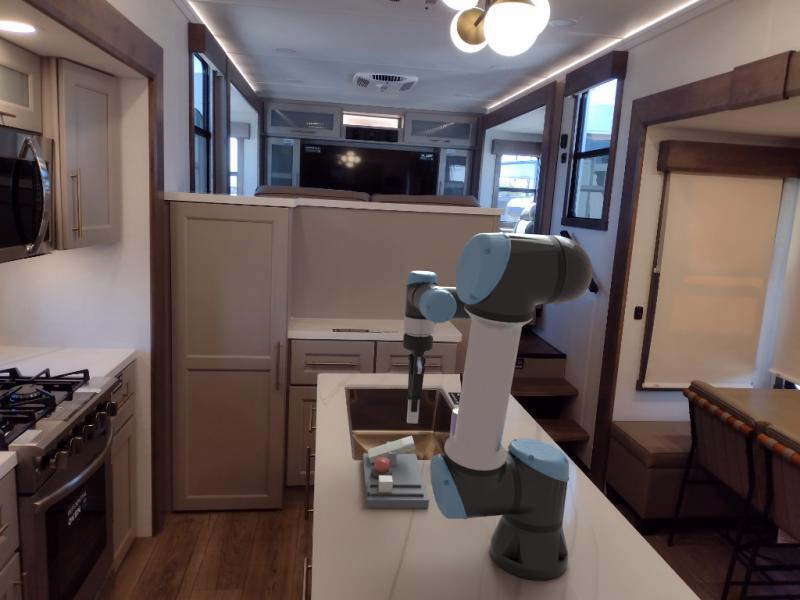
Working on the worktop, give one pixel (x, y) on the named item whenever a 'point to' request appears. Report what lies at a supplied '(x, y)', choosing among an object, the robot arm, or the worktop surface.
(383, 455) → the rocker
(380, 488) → the slider knob
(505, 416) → the robot arm
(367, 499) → the console
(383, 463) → the button
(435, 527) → the worktop surface
